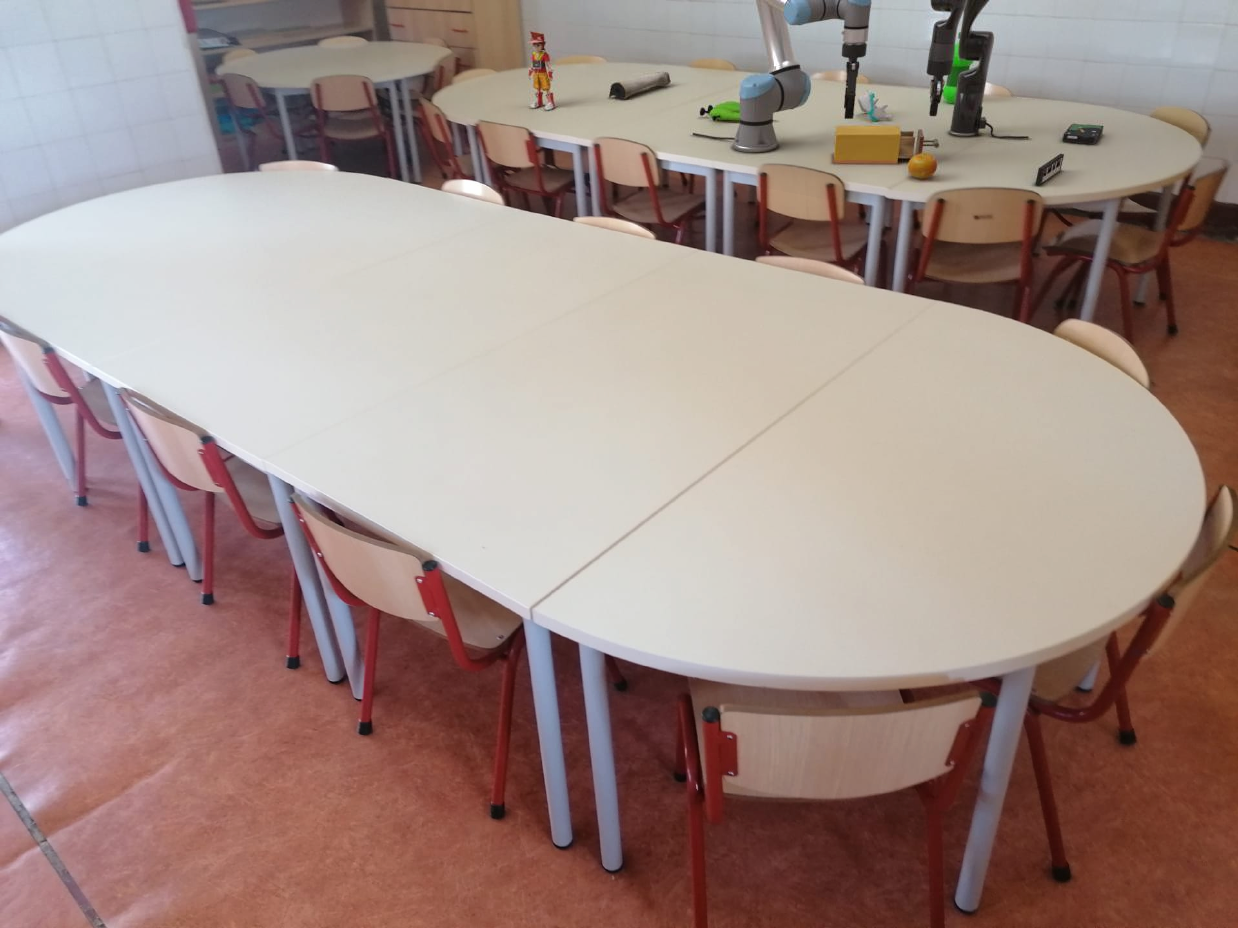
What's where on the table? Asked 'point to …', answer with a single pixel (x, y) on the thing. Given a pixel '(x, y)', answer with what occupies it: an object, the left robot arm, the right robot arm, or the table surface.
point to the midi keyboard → (1049, 169)
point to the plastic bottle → (955, 76)
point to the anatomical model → (872, 107)
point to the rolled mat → (638, 84)
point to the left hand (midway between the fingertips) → (848, 113)
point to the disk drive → (1083, 133)
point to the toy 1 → (541, 71)
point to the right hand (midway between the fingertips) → (932, 115)
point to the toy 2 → (723, 111)
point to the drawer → (909, 141)
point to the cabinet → (867, 144)
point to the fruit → (922, 165)
